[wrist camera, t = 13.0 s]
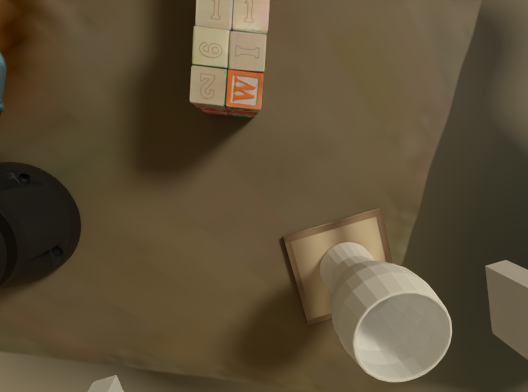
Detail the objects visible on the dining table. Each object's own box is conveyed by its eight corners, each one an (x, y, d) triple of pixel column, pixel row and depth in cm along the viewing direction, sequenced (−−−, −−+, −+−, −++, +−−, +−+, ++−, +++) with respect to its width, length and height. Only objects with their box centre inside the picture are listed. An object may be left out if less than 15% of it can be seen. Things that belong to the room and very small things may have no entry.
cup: (372, 221, 41) (446, 268, 26) (390, 287, 43) (468, 365, 28) (299, 247, 40) (332, 308, 26) (321, 311, 43) (363, 403, 28)
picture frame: (307, 322, 44) (308, 325, 43) (282, 236, 41) (283, 237, 40) (397, 295, 44) (399, 298, 43) (379, 208, 41) (381, 209, 40)
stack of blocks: (216, -80, 33) (202, -205, 21) (271, -71, 34) (288, -188, 22) (205, 114, 37) (187, 102, 25) (254, 120, 38) (261, 110, 26)
